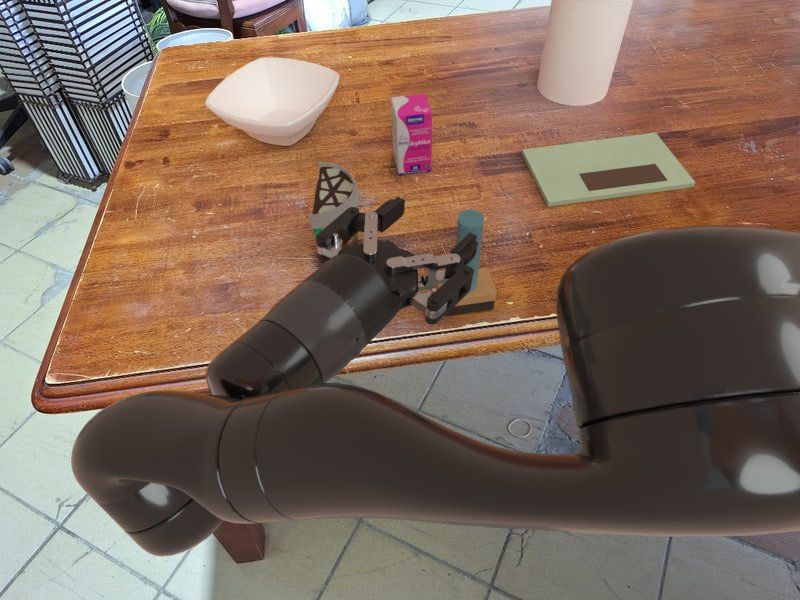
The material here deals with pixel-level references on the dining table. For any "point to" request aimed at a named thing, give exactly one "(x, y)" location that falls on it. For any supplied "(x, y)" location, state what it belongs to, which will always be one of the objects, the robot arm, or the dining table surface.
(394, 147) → the supplement box
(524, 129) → the dining table surface
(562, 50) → the canister
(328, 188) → the food container
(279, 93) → the bowl
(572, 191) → the board
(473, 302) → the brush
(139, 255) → the dining table surface
